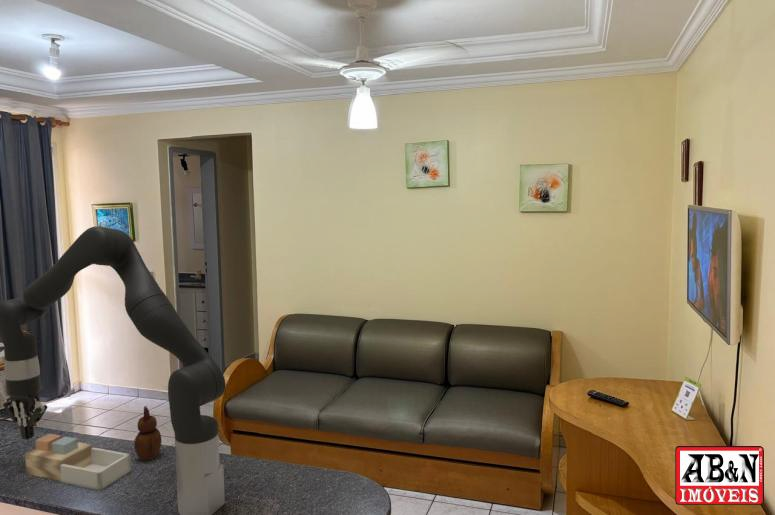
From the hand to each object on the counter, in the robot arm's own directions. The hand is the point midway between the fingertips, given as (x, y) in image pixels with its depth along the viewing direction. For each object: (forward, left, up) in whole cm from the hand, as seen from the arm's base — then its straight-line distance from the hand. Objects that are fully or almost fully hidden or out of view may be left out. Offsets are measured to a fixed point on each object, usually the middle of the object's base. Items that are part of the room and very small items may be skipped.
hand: (27, 438), depth 144 cm
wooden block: (-11, 0, -7) cm, 13 cm away
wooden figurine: (-28, -12, -7) cm, 31 cm away
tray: (-23, 0, -7) cm, 24 cm away
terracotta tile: (-7, 0, -1) cm, 7 cm away
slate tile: (-13, 0, -1) cm, 13 cm away
